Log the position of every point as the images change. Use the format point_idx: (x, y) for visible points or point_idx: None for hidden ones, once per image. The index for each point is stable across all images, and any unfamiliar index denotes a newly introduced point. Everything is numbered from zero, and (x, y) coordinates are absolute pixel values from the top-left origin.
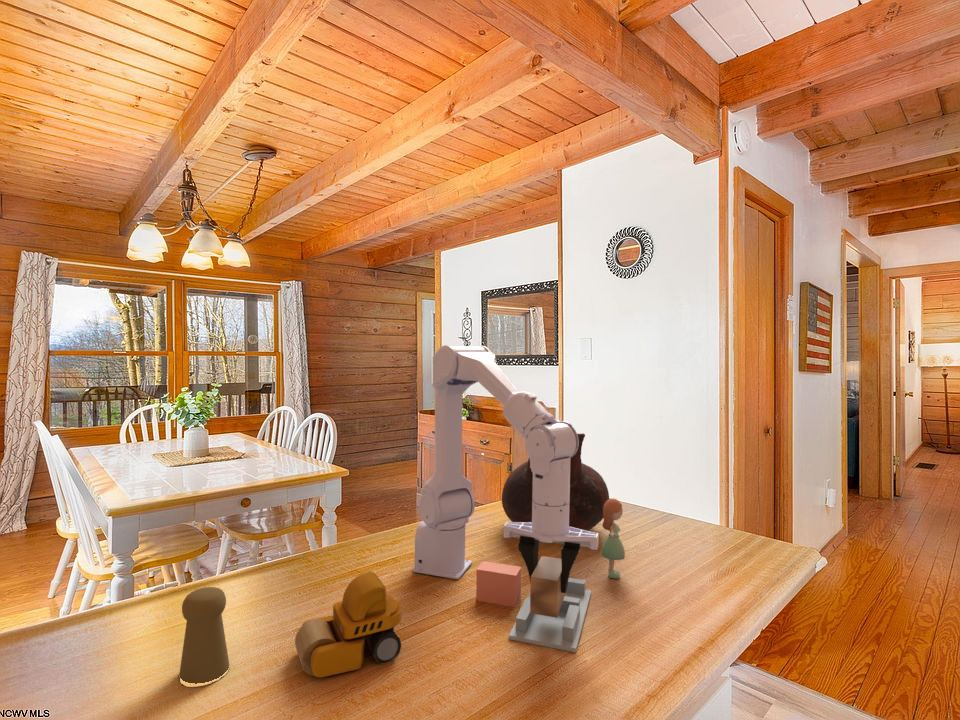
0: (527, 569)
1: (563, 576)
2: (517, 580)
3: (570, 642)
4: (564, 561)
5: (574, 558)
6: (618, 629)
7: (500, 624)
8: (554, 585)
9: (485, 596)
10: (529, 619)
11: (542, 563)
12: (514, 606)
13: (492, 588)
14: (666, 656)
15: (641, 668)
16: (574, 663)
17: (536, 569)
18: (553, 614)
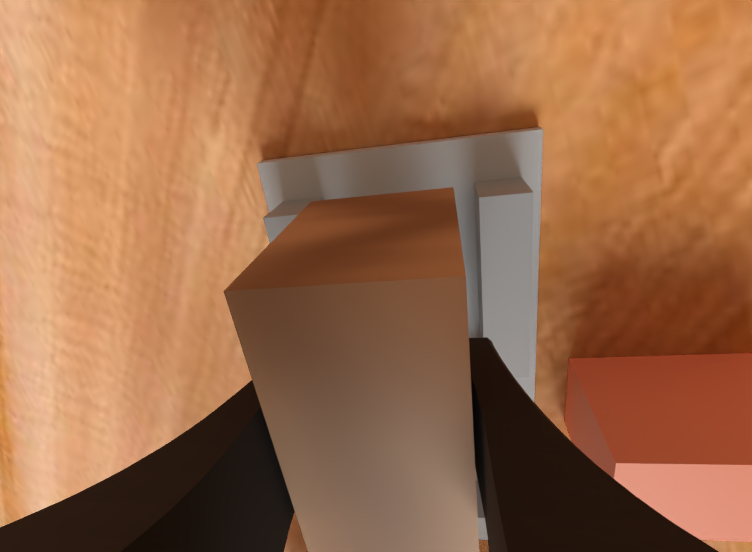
0: (537, 406)
1: (253, 400)
2: (599, 453)
3: (290, 195)
4: (163, 491)
5: (13, 523)
6: (203, 349)
7: (603, 222)
8: (262, 269)
9: (721, 369)
10: (478, 253)
11: (443, 505)
12: (573, 360)
13: (709, 397)
14: (35, 266)
15: (54, 170)
16: (240, 86)
17: (457, 414)
18: (323, 202)
